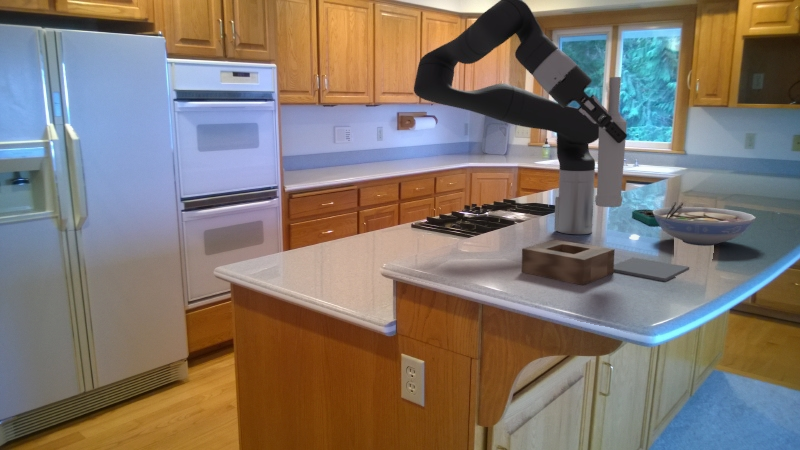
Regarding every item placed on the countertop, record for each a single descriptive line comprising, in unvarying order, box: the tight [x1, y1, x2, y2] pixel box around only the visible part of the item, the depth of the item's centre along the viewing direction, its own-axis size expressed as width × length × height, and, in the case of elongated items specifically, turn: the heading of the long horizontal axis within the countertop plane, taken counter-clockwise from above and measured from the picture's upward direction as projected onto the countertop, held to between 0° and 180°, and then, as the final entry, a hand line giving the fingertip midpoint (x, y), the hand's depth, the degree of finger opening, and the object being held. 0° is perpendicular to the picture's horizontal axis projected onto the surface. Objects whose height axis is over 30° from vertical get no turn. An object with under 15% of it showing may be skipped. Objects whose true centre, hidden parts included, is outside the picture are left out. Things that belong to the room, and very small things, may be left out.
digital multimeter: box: [631, 208, 660, 227], centre depth 175 cm, size 7×15×3 cm, turn 178°
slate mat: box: [613, 257, 690, 282], centre depth 121 cm, size 12×12×1 cm
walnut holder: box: [521, 239, 615, 286], centre depth 119 cm, size 14×12×5 cm
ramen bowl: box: [652, 201, 757, 247], centre depth 144 cm, size 25×23×8 cm
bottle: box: [594, 76, 628, 208], centre depth 114 cm, size 5×5×25 cm
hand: (622, 139), depth 114 cm, fingers closed on bottle, 5 cm apart
